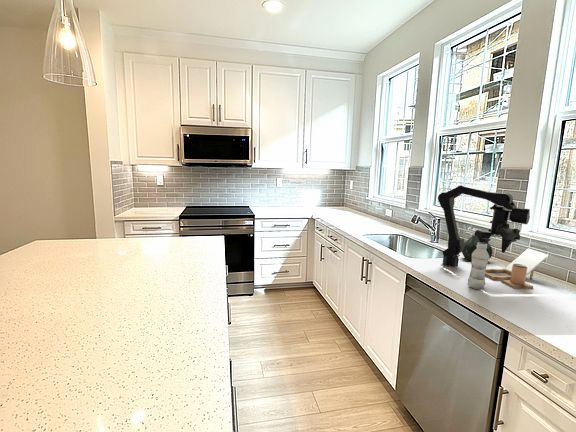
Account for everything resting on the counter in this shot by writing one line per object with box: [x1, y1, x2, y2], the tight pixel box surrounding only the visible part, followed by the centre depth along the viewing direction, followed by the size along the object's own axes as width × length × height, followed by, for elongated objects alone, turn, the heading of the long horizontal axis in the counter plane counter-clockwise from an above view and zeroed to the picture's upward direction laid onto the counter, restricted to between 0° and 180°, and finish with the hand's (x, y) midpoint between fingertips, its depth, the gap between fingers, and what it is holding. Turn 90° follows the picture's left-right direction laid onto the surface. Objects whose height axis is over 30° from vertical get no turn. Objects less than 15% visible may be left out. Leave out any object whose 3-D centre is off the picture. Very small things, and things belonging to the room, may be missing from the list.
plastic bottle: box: [467, 242, 490, 291], centre depth 131 cm, size 6×7×20 cm
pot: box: [510, 264, 527, 285], centre depth 134 cm, size 5×5×8 cm
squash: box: [461, 234, 493, 262], centre depth 173 cm, size 14×15×15 cm
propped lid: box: [504, 248, 550, 280], centre depth 147 cm, size 11×11×13 cm
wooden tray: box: [485, 268, 511, 281], centre depth 146 cm, size 15×11×2 cm
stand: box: [500, 280, 534, 290], centre depth 135 cm, size 9×7×2 cm
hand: (493, 252), depth 145 cm, fingers open, 9 cm apart
